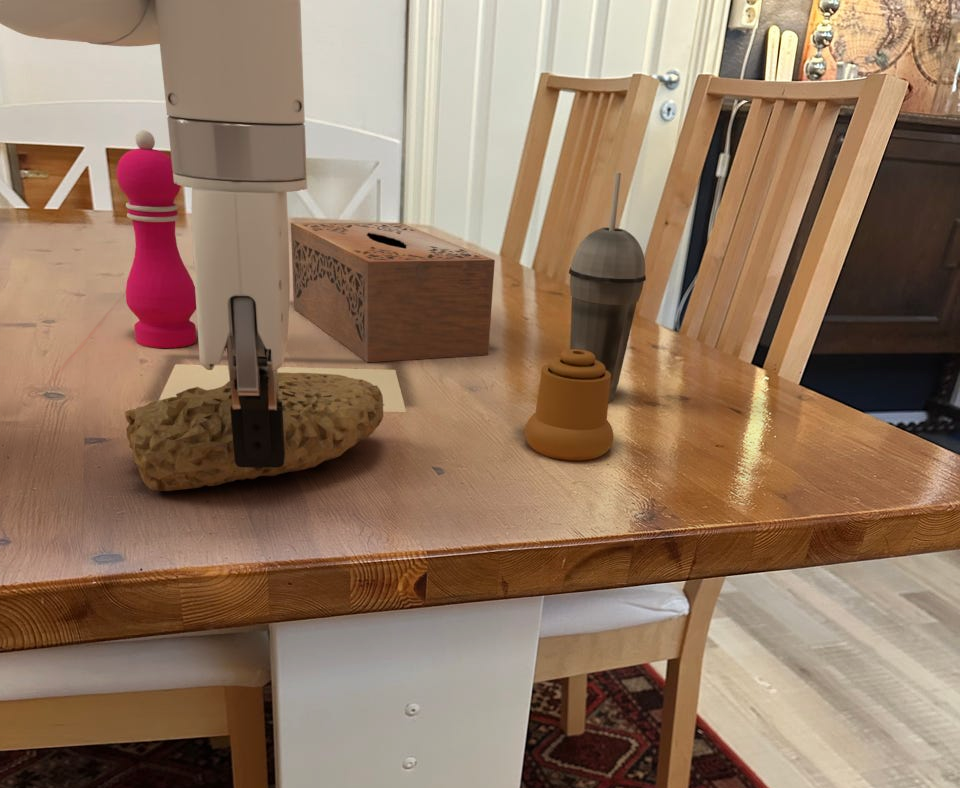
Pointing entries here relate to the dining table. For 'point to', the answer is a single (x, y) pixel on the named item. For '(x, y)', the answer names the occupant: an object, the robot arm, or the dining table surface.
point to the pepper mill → (156, 250)
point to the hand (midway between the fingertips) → (260, 462)
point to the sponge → (209, 440)
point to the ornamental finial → (572, 408)
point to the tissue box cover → (392, 290)
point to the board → (219, 375)
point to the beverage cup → (606, 293)
